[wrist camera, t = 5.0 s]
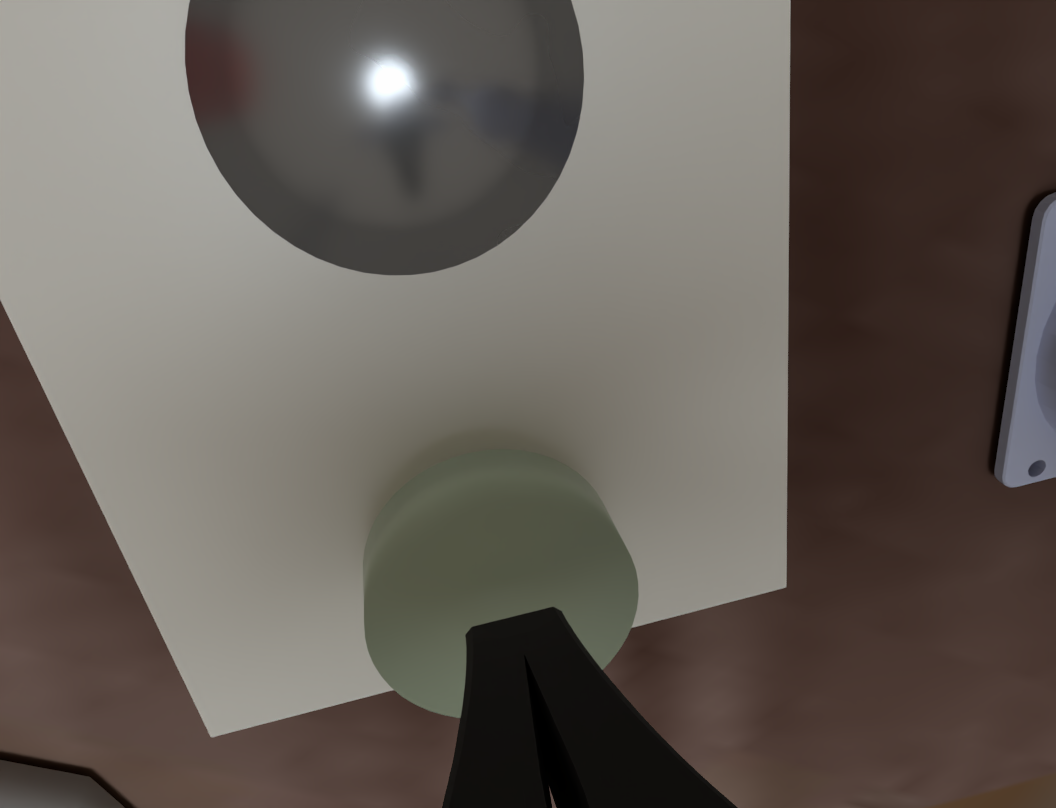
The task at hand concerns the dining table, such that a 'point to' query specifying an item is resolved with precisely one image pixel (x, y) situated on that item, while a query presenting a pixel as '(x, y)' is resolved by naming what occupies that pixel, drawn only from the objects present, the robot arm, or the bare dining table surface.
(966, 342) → the dining table surface
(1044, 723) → the dining table surface
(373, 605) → the sage button
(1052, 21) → the dining table surface
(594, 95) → the control panel
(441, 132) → the grey button
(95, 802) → the flask
